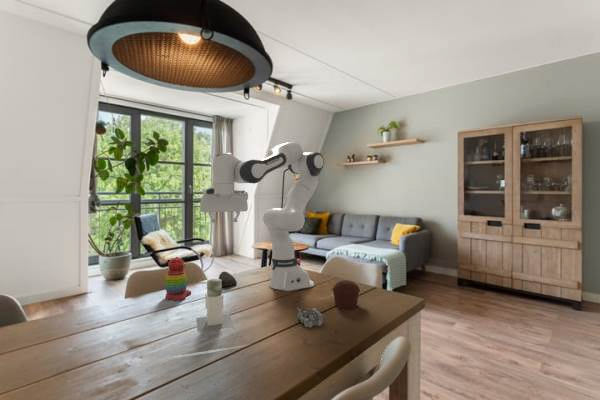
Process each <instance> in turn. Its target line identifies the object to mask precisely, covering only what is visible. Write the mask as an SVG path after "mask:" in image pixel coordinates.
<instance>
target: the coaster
mask: <svg viewBox="0 0 600 400" xmlns="http://www.w3.org/2000/svg"><path fill="white" fill-rule="evenodd" d="M232 320H233V319H232V317H231V314H230V313H228V314H227V313H225V314H222V324H218V325H211V326H208V324H207V316H203V317H196V330H197V333H198V332H206V331H212V330H213V331H214V330H218V329H226V328H234V324H233V321H232Z"/></svg>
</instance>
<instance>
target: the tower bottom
mask: <svg viewBox="0 0 600 400" xmlns="http://www.w3.org/2000/svg"><path fill="white" fill-rule="evenodd" d="M222 315H223V309H222V310H217V311H212V312H209V311H208V310H207V309H206V317H207V324H208V326H211V325H218V324H222Z"/></svg>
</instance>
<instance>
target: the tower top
mask: <svg viewBox="0 0 600 400" xmlns="http://www.w3.org/2000/svg"><path fill="white" fill-rule="evenodd" d="M204 299H205V309H206V311H207V310H208V311H209V312H212V311H217V310H222V311H223V310H224V295H223V293H222V294H221V295H220V296H217V297H209V296H207V293H205V298H204Z"/></svg>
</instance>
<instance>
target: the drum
mask: <svg viewBox="0 0 600 400" xmlns="http://www.w3.org/2000/svg"><path fill="white" fill-rule="evenodd" d="M222 288H223V287H222V280H221V279H219V278H211V279H207V280H206V292H207V293H206V294H207V296H209V297H217V296H220V295H221V294H222V295H223V292H222V290H223V289H222Z"/></svg>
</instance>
